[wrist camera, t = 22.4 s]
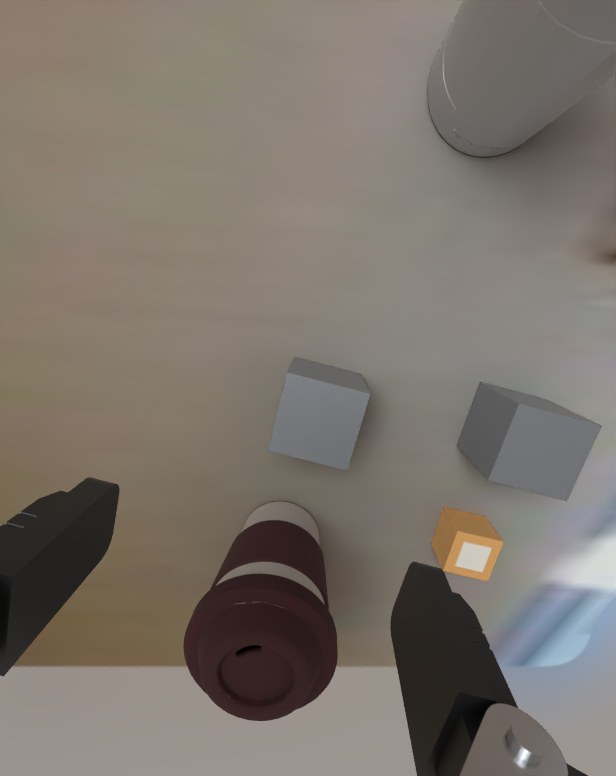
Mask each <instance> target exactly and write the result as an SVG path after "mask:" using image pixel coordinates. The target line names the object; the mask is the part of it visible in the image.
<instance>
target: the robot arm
mask: <svg viewBox="0 0 616 776" xmlns="http://www.w3.org/2000/svg"><path fill="white" fill-rule="evenodd" d="M614 74H616V0H463V1H462V3H461V6H460V8H459V10H458V12H457V14H456V16H455V18H454V20H453V22H452V24H451V26H450V28H449V30H448V33H447V35H446V37H445V39H444V41H443V43H442V45H441V48H440V50H439V52H438V54H437V56H436V58H435V60H434V63H433V66H432V69H431V73H430V76H429V83H428V105H429V110H430V113H431V117H432V121H433V122H434V124H435V126H436V128H437V130H438V132H439V133H440V135H441V136H442V137H443V138H444V139H445V140H446V142H447V143H449V144H450V145H451V146H453V147H454V148H455V149H457V150H458V151H461V152H463V153H466V154H468V155H472V156H479V157H489V156H497V155H500V154H503V153H507V152H509V151H511V150H513V149H515V148H516V147H518V146H520V145H521V144H523V143H524V142H525V141H527V140H528V139H529V138H531V137H532V136H533V135H535V134H536V133H537V132H539V131H540V130H541V129H543V128H544V127H545V126H547V125H548V124H550V123H551V122H552V121H554V120H555V119H556V118H558V117H559V116H560V115H561V114H563V113H564V112H565V111H567V110H568V109H569V108H571V107H572V106H573V105H575V104H576V103H577V102H579V101H580V100H581V99H583V98H584V97H585V96H587V95H588V94H589V93H591V92H592V91H593V90H595V89H596V88H597V87H599V86H600V85H601V84H602V83H604V82H605V81H606V80H608V79H609V78H610V77H612V76H613V75H614ZM118 497H119V486H118V485H117V484H114V483H110V482H106V481H102V480H98V479H94V478H90V477H89V478H86V479H85V480H84V481H82V482H81V483H80V484H78V485H77V486H76V487H75V488H73V489H72V490H71V491H69V492H68V493H67V492H64V491H59V492H56V493H53V494H50V495H48V496H45V497H42V498H40V499H38V500H36V501H35V502H34V503H32V504H31V505H29V506H28V507H27V508H25V509H24V510H23V511H21V514H17V515H16V516H14V517H13V518H11V519H10V520H9V521H7V523H6V525H4V524H3V525H2V526H0V675H1V676H4V675H5V674H6V673H7V672H8V671H9V669H10V668H11V667H12V666H13V665H14V663H15V662H16V661H17V660H18V659H19V657H20V656H21V655H22V654H23V653H24V651H25V650H26V649H27V648H28V647H29V645H30V644H31V643H32V642H33V641H34V639H35V638H36V637H37V636H38V635H39V634H40V632H41V631H42V630H43V629H44V628H45V626H46V625H47V624H48V623H49V622H50V620H51V619H52V618H53V617H54V616H55V614H56V613H57V612H58V611H59V610H60V608H61V607H62V606H63V605H64V604H65V602H66V601H67V600H68V599H69V598H70V596H71V595H72V594H73V593H74V592H75V590H76V589H77V588H78V587H79V586H80V585H81V583H82V582H83V581H84V580H85V579H86V577H87V576H88V575H89V574H90V573H91V571H92V570H93V569H94V568H95V567H96V565H97V564H98V563H99V562H100V561H101V559H102V558H103V556H104V555H105V553H106V551H107V549H108V547H109V545H110V542H111V539H112V535H113V530H114V523H115V517H116V510H117V504H118ZM391 637H392V642H393V647H394V653H395V658H396V664H397V669H398V674H399V679H400V685H401V691H402V696H403V701H404V707H405V712H406V718H407V722H408V728H409V734H410V739H411V745H412V750H413V755H414V761H415V766H416V771H417V776H587V775H586V774H584V773H582V772H580V771H578V770H577V769H575V768H573V767H572V766H570V765H568V764H567V763H566V762H565V759H564V757H563V755H562V752H561V751H560V749H559V747H558V746H557V744H556V742H555V741H554V740H553V738H552V737H551V736H550V735H549V733H548V732H547V731H546V730H545V729H544V728H543V727H542V726H541V725H540V724H539V723H538V722H537V721H536V720H534V719H533V718H532V717H531V716H529V715H528V714H526V713H525V712H523V711H522V710H520V709H518V707H517V705H516V703H515V700H514V698H513V696H512V694H511V692H510V689H509V687H508V685H507V683H506V680H505V678H504V676H503V674H502V672H501V669H500V667H499V665H498V663H497V661H496V658H495V656H494V654H493V652H492V650H490V649H489V647H490V645H489V643H488V641H487V639H486V637H485V634H483V633H482V628H481V626H480V623H479V621H478V619H477V617H476V615H475V612H474V611H473V610H472V608H471V607H470V606H469V605H468V604H467V603H466V601H465V600H464V599H463V598H462V597H461V595H460V594H457V593H453V592H452V591H451V588H450V586H449V583H448V581H447V579H446V576H445V574H444V572H443V570H442V569H441V568H437V567H433V566H429V565H425V564H421V563H417V562H412V563H411V564H410V566H409V568H408V570H407V573H406V575H405V578H404V581H403V583H402V586H401V589H400V591H399V594H398V597H397V599H396V602H395V605H394V607H393V611H392V616H391Z"/></svg>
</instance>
